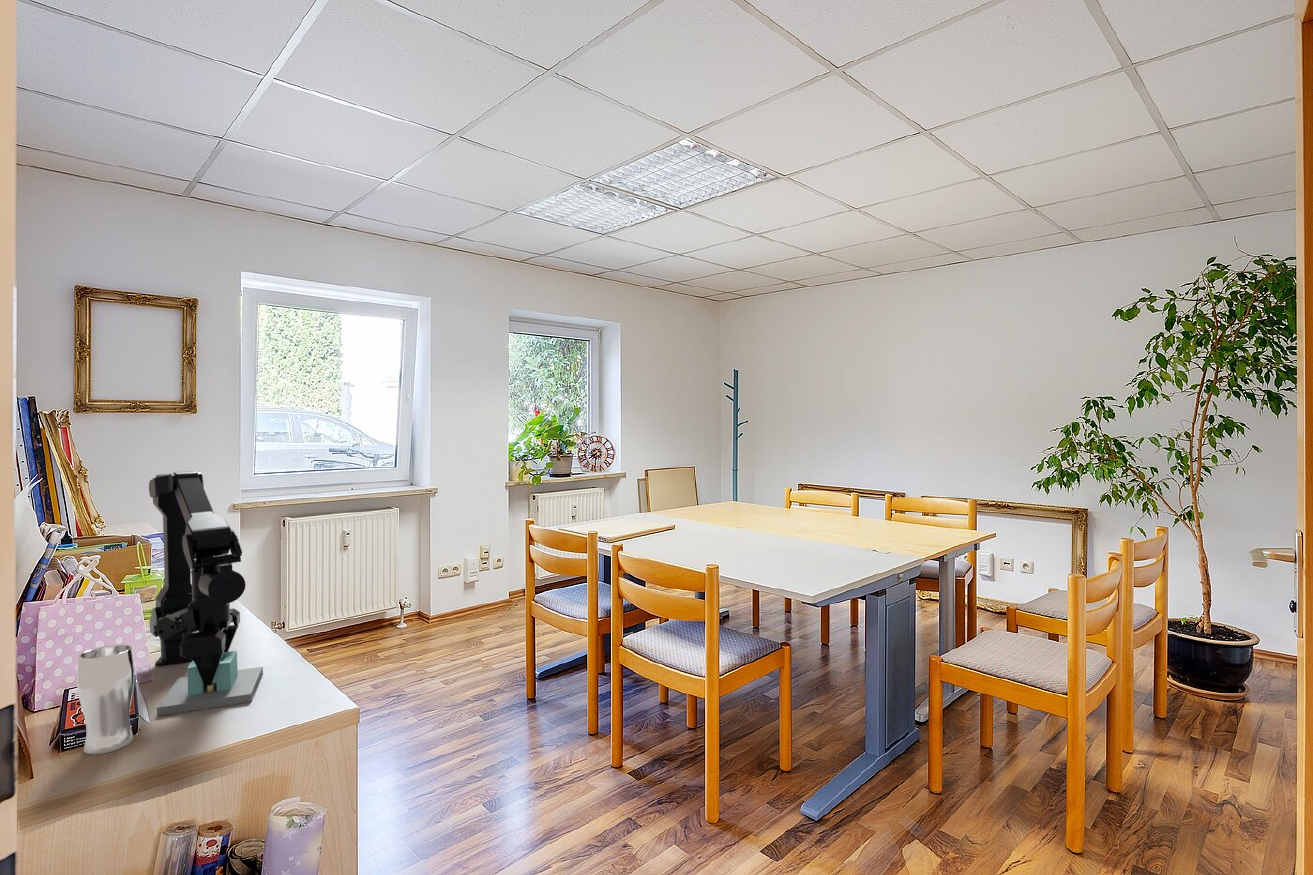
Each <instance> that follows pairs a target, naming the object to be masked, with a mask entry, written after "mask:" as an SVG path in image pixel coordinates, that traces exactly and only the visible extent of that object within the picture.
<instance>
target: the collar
mask: <svg viewBox="0 0 1313 875" xmlns="http://www.w3.org/2000/svg"><path fill="white" fill-rule="evenodd" d="M237 670H238V651H237V650H231V651H228V652H224V653H223V655H222V658H221V660H220V663H219V666H218V669H217V671H216V674H215V677H214V679H213V682H212V683H217V691H223V690H230V689H231V688H232V686H233V684H234V682H235V680H236V679H237V677H238V672H237ZM186 675H187V676H186V677H187V679H188V695H195V694H202V693H203V692H204V684H203V682H202V679H201V677H200V674H199V671H198V669H197V666H196V664H195V662H194V661H193V660H192V661H190V663H189V664H188V667H186Z"/></svg>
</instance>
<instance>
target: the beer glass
mask: <svg viewBox="0 0 1313 875" xmlns="http://www.w3.org/2000/svg"><path fill="white" fill-rule="evenodd" d="M134 659H135V658H134V653H133V645H130V644H127V643H123V644H122V643H119V644H118V643H117V644H108V645H103V646H99V647H95V648H91V649H88V650H85V651H83V652H81V653H80V654H78V655H77V660H78V661H77V672H76V673H77V674H76V675H77V676H76V685H77V694H78V699H79V703H80V707H81V709H82V713H83V717H84V721H85V728H86V736H85V741H84V745H83V752H84V753H85V754H86V755H89V756H90V755H91V756H92V755H95V756H96V755H103V754H107V753H108V754H109V753H111V752H115V751H117V750H120V749H123V748H124V747H127V746H128V745H130V744H131V743H132V742H133V741H134V733H133V730H132V726H131V723H130V721H131V720H130V714H131V707H132V706H131V705H132V700H133V695H134V690H135V680H136V678H135V677H136V672H135V670H136V669H135V661H134Z"/></svg>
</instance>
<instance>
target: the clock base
mask: <svg viewBox="0 0 1313 875" xmlns="http://www.w3.org/2000/svg"><path fill="white" fill-rule="evenodd" d="M237 672H238V677H237V679H236V680H235V682H234V684H233V686H232V688H231V689H230V690H223V691H217V683H212V684H211V685H209V686H204V692H203V693H202V694H195V695H188V679H187V676H184V677H179V678H177V679H176V681H175V682H174V684H173V685H172V687H171V688H170V689H169V691H168V692H167V693H166V694H165V696H164V697H163V699H162V700H161V701H160V702H159V704H158V705H157V706H156V716H157V717H161V716H167V715H174V714H181V713H186V712H185V711H188V712H193V711H192V710H195V711H200V710H209V709H213V708H221V707H226V706H233V705H239V704H240V705H241V704H245V703H246V704H248V703H252V701H253V699H252V698H254V696H255V694H256V691H257V689H258V687H259V684H260V681H261V680H262V677H263V675H264V667H263V666H258V667H251V668H244V669H243V668H242V669H237Z"/></svg>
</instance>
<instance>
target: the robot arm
mask: <svg viewBox="0 0 1313 875" xmlns="http://www.w3.org/2000/svg"><path fill="white" fill-rule="evenodd" d="M203 477H204V476H203V474H202V473H201V472H200V471H196V470H189V471H187V470H186V471H175V472H173V473H166V474H165V473H163V474H162V473H161V474H156V475H155V477H153V478H152V479H150V480H149V482H148V493H149V496H150V498H152V504H153V506H155V508H156V509H157V510H158V512H160V514H161V515H162V526H163V527H162V530H163V532H162V533H163V536H162V537H163V563H164V564H163V565H164V566H163V568H164V570H163V571H164V584H163V586H162V588H161V589H160V591H159V592H158V594H157V595H156V597H155V607H153V608H152V612H151V614H150V618H149V631H150V632H149V633H150V634H151V635H152V636H154V638H159V639H160V640H159V642H160V657H158V659H157V660H156V661H155V663H154V665H155V666H161V665H170V664H177V663H185V662H192V661H194V662H195V664H196V666H197V669H198V671H199V674H200V677H201V679H202V682H203V684H204V686H209V685H211V684H212V682H213V679H214V677H215V674H216V671H217V669H218V666H219V663H220V660H221V658H222V655H223V653H224V652H230V651H229V650H230V648H231V645H232V644H233V640H234V638H235V636H236V633H237V631H238V629H239V624H240V622H241V612H240V611H239V610H238V609H236V608H230V606H231V605H230V604H231V603H233V602H236V601H237V600H238V599H239V598H240V597H242V595H243V594H244V592H245V590H246V585H247V584H246V580H245V579H244V577H243V575H242V574H241V573H239V572H237V571H235V570H234V569H233V564H235V563H240V562H242V558H241V557H242V555H243V549H242V547H241V544H240V541H239V538H238V535H237V534H236V533H235V531H234V529H232V528H231V527H230V525H229V523H228V522H227V519H225V518H223V517H221V516H219V515H217V514H215V512H214V509H213V508H212V504H211V502H210V499H209V498H208V495H207V492H206V490H205V488H204V486H205V484H204V478H203ZM229 553H231V554H229ZM231 623H233V625H231Z"/></svg>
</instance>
